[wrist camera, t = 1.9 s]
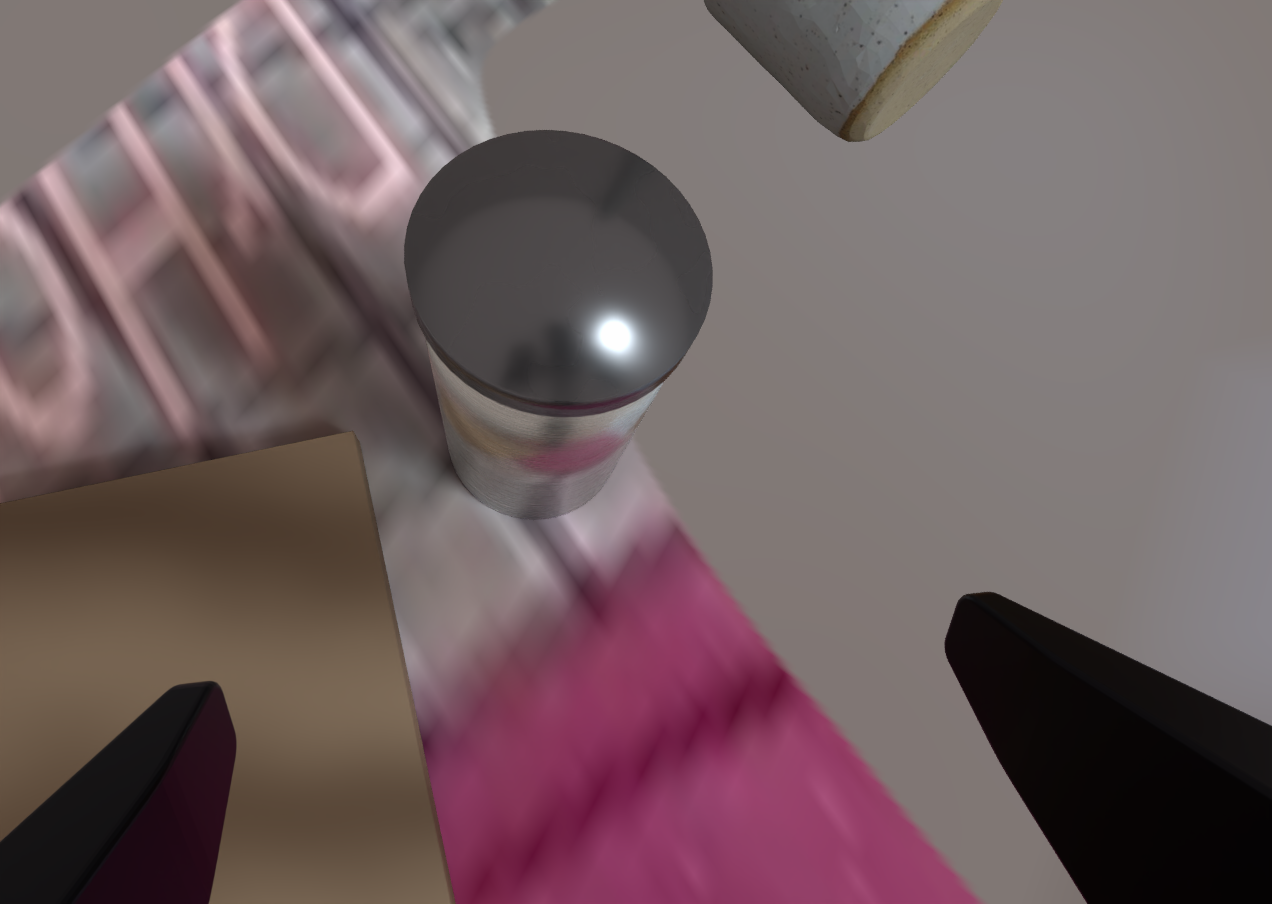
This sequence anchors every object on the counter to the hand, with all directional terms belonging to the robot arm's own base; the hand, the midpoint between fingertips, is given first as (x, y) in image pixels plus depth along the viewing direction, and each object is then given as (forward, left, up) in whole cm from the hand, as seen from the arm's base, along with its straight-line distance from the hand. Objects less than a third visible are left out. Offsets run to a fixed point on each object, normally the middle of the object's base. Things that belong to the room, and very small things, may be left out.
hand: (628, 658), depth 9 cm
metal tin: (+7, -1, -12) cm, 14 cm away
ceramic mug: (+20, -17, -12) cm, 29 cm away
